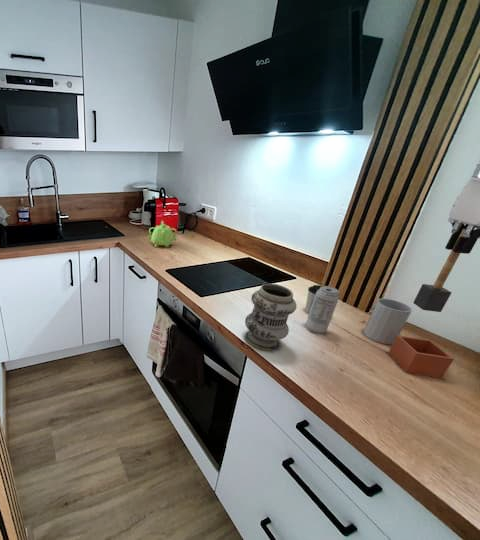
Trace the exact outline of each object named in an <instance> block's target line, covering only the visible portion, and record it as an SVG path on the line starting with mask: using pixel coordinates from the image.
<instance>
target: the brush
mask: <svg viewBox="0 0 480 540" xmlns="http://www.w3.org/2000/svg"><path fill="white" fill-rule="evenodd" d="M465 231H466V229H463V230H462V232H461V234H460V236H462V237H463V235H464V233H465ZM460 236H459V237H460ZM459 237H458V239H459ZM458 239H457V241H458ZM457 241H456V243H457ZM456 243H455V245H456ZM455 245H454V247H455ZM454 247H453V249H454ZM453 249H452V250H450V253H449V255H448V256H447V258H446V260H445V263H444V264H443V266H442V268H441V270H440V272H439V274H438V275H437V277H436V279H435V281H434V284H427V283H423V284H421V286H420V289H419V290H418V293H417V294H416V296H415V298H414V299H413V302H412V303H413V304H414V305H416V307H418V308H419V309H420V310H422V311H428V312H435V313H441V312H442V311H443V309H444V307H445V306H446V304H447V302H448V301H449V299H450V296H451V295H452V292H451V291H450V290H448V289H446V288H445V287H443V286H445V283H446V281H447V280H448V278H449V275H450V274H451V272H452V270H453V268H454V266H455V264H456V262H457V260H458V259H459V257H460V255H461V253H455V252H453Z"/></svg>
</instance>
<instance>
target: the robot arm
mask: <svg viewBox="0 0 480 540" xmlns="http://www.w3.org/2000/svg"><path fill="white" fill-rule="evenodd" d="M448 216H449V218H447V219H448V220H447V221H448V222H449V223H450V224H451V227H452V228H451V231H450V233H451V235H450V237H449V239H448V241H447V244H446V245H445V248H444V249H445V250H449V251H452V249H453V247H454V245H455V243H456V241H457V239H458V237H459V236H460V234H461V232H462V230H463V229H466V231H465V233H464V235H463V237H462V236H460V237H459V239H458V241H457V243H456V245H455V247H454V249H453V252H455V253H460V254H466V255H467V254H468V255H469V254H471V252H472V251H473V249H474V247H475V245H476V243H477V241H478V239H480V158H479V159H478V161H477V163H476V164H475V167H474V168H473V171H472V172H471V175H470V177H469V179H468V181H467V182H466V183H465V185H464V186H463V187H462V189H461V190H460V192H459V194H458V195H457V197H456V199H455V200H454V202H453V204H452V206H451V208H450V210H449V214H448Z"/></svg>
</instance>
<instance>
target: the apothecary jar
mask: <svg viewBox="0 0 480 540" xmlns="http://www.w3.org/2000/svg"><path fill="white" fill-rule="evenodd" d="M251 303H252V304H253V308H252V310H251V312H250V313H248V314H247V316H246V317H245V320H244V324H245V327H246V328H247V330H248V331H247V332H246V333H245V334H244V335H245V336H244V337H245V340H246V341H247V342H248V343H249V344H250V345H251V346H253V347H255V348H256V349H260V350H263V351H268V352H269V351H270V352H271V351H273V350H278V349H279V348H280V346H281V343H280V340H282V339H285V338H286V337H288V334H289V333H290V329H289V325H288V324H287V323H288V318H289V316H290V315H292V314H293V313H295V311H296V310H297V303H296V300H295V299H294V292H293V291H292V290H291V289H289V288H288V287H286V286H284V285H282V284H281V285H280V284H278V283H263V284H261V286H260V288H259V289H258V290H256V291H254V292H253V293H252V295H251Z"/></svg>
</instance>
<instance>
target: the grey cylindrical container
mask: <svg viewBox="0 0 480 540" xmlns="http://www.w3.org/2000/svg"><path fill="white" fill-rule="evenodd" d="M412 312H413V309H412V307H410V306H409V305H408V304H405V303H403V302H401V301H398V300H394V299H390V298H383V297H382V298H378V299H377V300H376V302H375V304H374V306H373V309H372V310H371V313H370V316H369V318H368V319H367V321H366V324H365V327H364V329H363V334H364V335H365V336H366V338H369V339H371V340H372V341H373V342H377V343H379V344H384V345H392V344H393V342H394V340H395V338H396V336H397V335H399V336H401V333H402V331H403V329H404V328H405V325H406V323H407V321H408V319H409V317H410V316H411V313H412Z"/></svg>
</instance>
